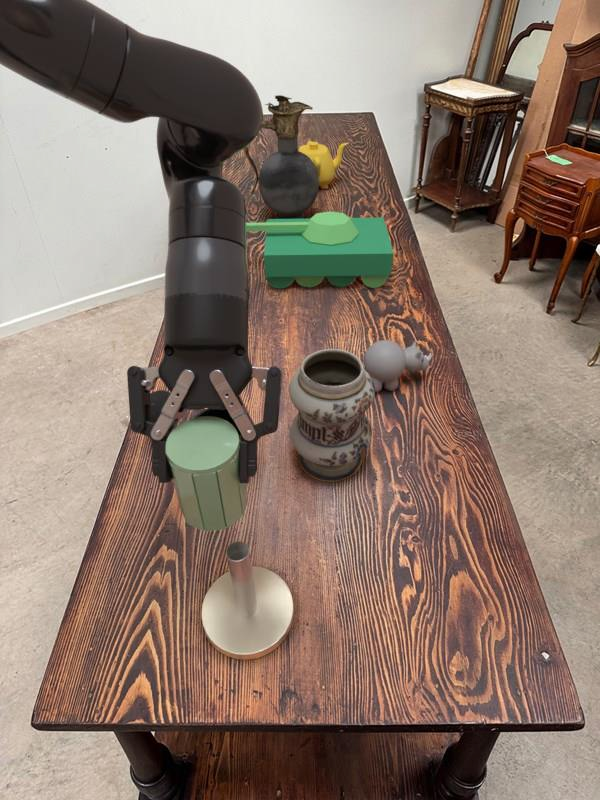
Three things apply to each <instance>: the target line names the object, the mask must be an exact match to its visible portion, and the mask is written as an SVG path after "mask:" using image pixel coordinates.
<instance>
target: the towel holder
mask: <svg viewBox="0 0 600 800" xmlns="http://www.w3.org/2000/svg"><path fill="white" fill-rule="evenodd" d="M225 556H226V560H227V564H228V569H229V570H228V571H226V572H224V573H223V574H222V575H220V576H219V577H218V578H217V579H216V580H215V581H214V582H212V584H211V585H210V587H209V588H208V589H207V591H206V593H205V595H204V598H203V600H202V604H201V611H200V615H201V617H200V618H201V624H202V627H203V630H204V633H205V634H204V635H205V636H206V638H207V640H208V642H209V643H210V644H211V646H212V647H213V648H214V649H215V650H217V651H218V652H219V653H220V654H222V655H224V656H226V657H228V658H230V659H233V660H234V659H235V660H242V661H249V660H257V659H259V658H262V657H264V656H266V655H268V654H271V653H272V652H273V651H274V650H276V649H278V647H280V645H281V644H282V643H283V642H284V641H285V640H286V638H287V637H288V635H289V633H290V631H291V629H292V625H293V622H294V615H295V609H294V608H295V607H294V605H295V604H294V598H293V594H292V592H291V589H290V587H289V585H288V584H287V583H286V581H285V580H284V579H283V577H281V576H280V575H279V574H277V573H276V572H275V571H273V570H271V569H269V568H267V567H263V566H257V565H252V559H251V552H250V547H249V545H248V544H247V543H246V542H244V541H241V540H236V541H233V542H231V543H229V544H228V545H227V548H226V550H225Z"/></svg>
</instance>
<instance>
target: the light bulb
mask: <svg viewBox="0 0 600 800" xmlns="http://www.w3.org/2000/svg"><path fill="white" fill-rule="evenodd" d="M170 394H171V392H170V391H167V390H162V389H161V390H155V391H152V392H150V400H151V415H152V422H154V423H156V421H157V420H158V418H159V416H160V414H161V410H162V408H163V406H164V404H165V403H166V401H167V399H168V397H169V396H170ZM173 404H174V403H173Z"/></svg>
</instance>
